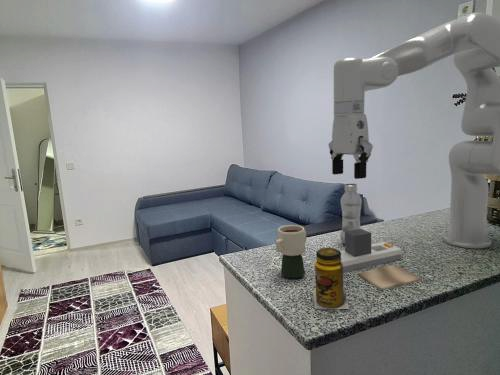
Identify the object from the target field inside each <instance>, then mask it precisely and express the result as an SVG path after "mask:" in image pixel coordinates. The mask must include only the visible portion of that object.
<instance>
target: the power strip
mask: <svg viewBox="0 0 500 375" xmlns="http://www.w3.org/2000/svg"><path fill="white" fill-rule="evenodd" d="M339 251H340V252H341V262H342V264H343V273H347V272H351V271H354V270H359V269H364V268H369V267H372V266H377V265H383V264H386V263H390V262H395V261H399V260H402V248H400V247H397V246H395V245H393V244H392V243H388V242H386V241H381V242H378V243H371V254H366V255H362V256H357V257H354V256H352V255H350V254H348V253H347V252H345V249H343V250H339Z"/></svg>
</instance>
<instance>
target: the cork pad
mask: <svg viewBox="0 0 500 375" xmlns="http://www.w3.org/2000/svg"><path fill="white" fill-rule="evenodd" d="M357 276H358V277H360V278H362V279H363V280H365V281H366V282H368V283H369V284H370V285H373V286H374V287H376V288H377V289H379V290H381V291H383V290H388V289H393V288H395V287H400V286H403V285H407V284H412V283H414V282H419V281H422V277H420V276H418V275H416V274H415V273H412V272H411V271H408V270H406V269H404V268H402V267H400V266H399V265H396V264H392V265H388V266H383V267H378V268H375V269H370V270H366V271H362V272H357Z"/></svg>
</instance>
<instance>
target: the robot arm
mask: <svg viewBox="0 0 500 375" xmlns="http://www.w3.org/2000/svg"><path fill="white" fill-rule="evenodd" d="M452 55H453V63H454V66H455V67H456V69H457V71H459V73H460V74H461V75H462V77H463V79H464V81H465V82H466V96H465V101H464V102H465V103H464V105H463V106H464V107H463V113H462V116H461V117H462V118H461V124H460V126H461V131H462V132H463V133H464V134H465V135H468V136H470V137H493V138H492V140H464V141H459V142H457V143H456V144H454V145H453V146H452V147H451V149H450V150H449V154H448V163H449V169H450V177H451V178H450V180H451V183H450V184H451V185H450V186H451V187H450V207H449V228H448V229H449V230H448V233H444V234H443V236H442V237H443V238H442V239H443V241H444V242H446V243H447V244H449V245H452V246H454V247H459V248H465V249H487V248H489V247H490V246H491V245H492V240H491V239H490V238H489V237H488V235H489V234H493V233H495V231H496V229H495V227H494V226H487V217H488V203H489V202H488V201H489V191H490V190H489V189H490V188H489V183H488V181H487V178H486V176H485V175H487V176H488V175H489V176H499V177H500V76H499V74H497V72H496V71H495V70H494V68H499V67H500V19H497V18H496V17H494V16H492V15H490V14H487V13H485V12H478V11H477V12H472V13H469V14H466V15H464V16H461V17H459V18H456V19H453V20H450V21H447V22H445V23H443V24H440V25H438V26H436V27H434V28H431V29H430V30H427V31H426V32H423V33H420V34H419V35H417V36H415V37H412V38H410V39H408V40H406V41H403V42H402V43H400V44H398V45H395V46H393V47H392V48H390V49H387V50H385V51H383V52H381V53H379V54H376V55H374V56H372V57H370V58H369V57H368V58H360V57H345V58H340V59H339V60H337V61H335V63H334V65H333V123H332V133H331V141H330V142H328V148H329V154H330V159H331V161H332V163H331V164H332V165H331V168H332V169H331V172H332V173H331V174H332V175H343V174H344V159H342V158H343V156H344V155H349V156H350V155H352V156H353V158H354V160H355V162H354V164H353V175H354V176H353V178H354V179H356V180H358V179H359V180H360V179H366V178H367V163H368V162H369V158H371V155H372V151H373V148H374V146H373V144H372V143H370V141H369V140H370V137H369V125H368V120H367V119H368V118H367V115H366V114H365V98H366V97H365V93H366V92H368V91H373V90H378V89H382V88H386V87H388V86H391V85H392V84H394V83H395V82H396V80H397V79H398V77H400V76H404V75H407V74H408V75H410V74H412V73H416V72H418V71H421V70H423V69H425V68H428V67H430V66H432V65H433V64H436V63H438V62H439V61H441V60H443V59H446V58H448V57H450V56H452Z"/></svg>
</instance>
